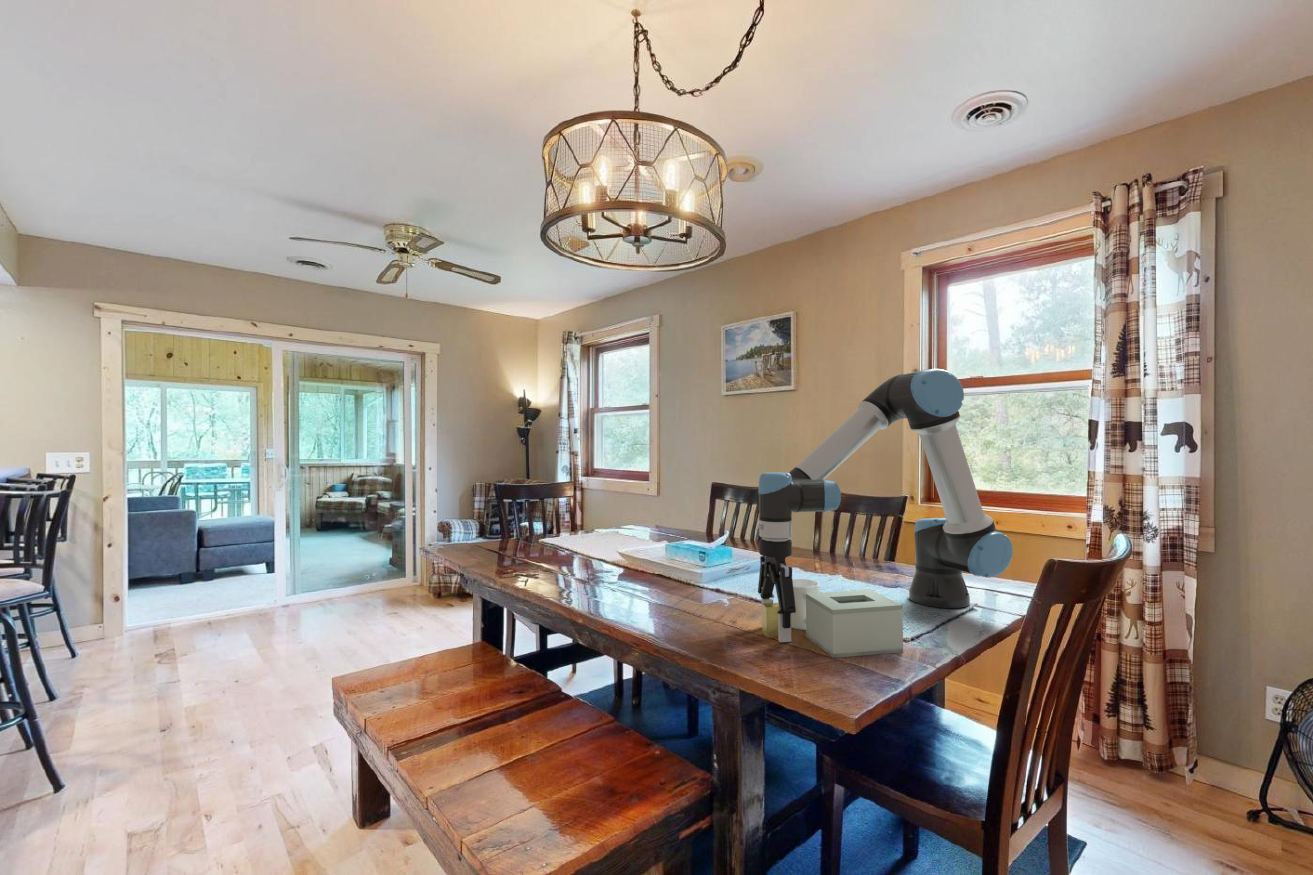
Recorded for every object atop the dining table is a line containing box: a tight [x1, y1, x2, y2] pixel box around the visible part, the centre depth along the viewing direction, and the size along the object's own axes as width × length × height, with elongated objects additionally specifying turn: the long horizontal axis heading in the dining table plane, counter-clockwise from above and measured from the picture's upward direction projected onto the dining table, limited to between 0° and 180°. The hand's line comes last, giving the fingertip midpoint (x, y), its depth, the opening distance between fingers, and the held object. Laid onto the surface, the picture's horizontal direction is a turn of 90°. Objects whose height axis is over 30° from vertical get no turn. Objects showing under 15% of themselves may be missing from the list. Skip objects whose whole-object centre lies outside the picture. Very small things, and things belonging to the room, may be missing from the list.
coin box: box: [805, 588, 904, 659], centre depth 126 cm, size 16×13×10 cm
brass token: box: [761, 602, 792, 638], centre depth 133 cm, size 6×3×7 cm, turn 100°
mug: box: [791, 578, 820, 631], centre depth 137 cm, size 12×8×10 cm
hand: (775, 633), depth 132 cm, fingers open, 10 cm apart
